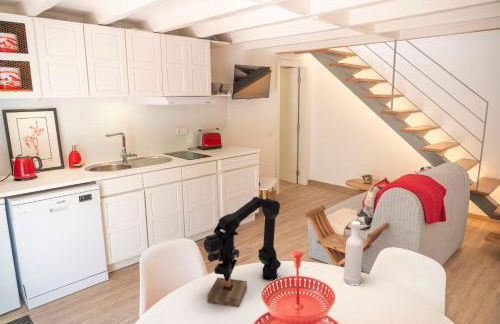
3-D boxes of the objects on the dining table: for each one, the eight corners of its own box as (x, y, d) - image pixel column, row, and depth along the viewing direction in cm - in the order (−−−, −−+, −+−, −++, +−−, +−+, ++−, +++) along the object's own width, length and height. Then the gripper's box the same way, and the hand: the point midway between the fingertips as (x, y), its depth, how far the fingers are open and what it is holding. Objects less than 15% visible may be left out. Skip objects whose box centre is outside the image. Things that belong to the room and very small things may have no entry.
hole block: (246, 288, 153) (246, 281, 152) (239, 307, 139) (239, 298, 139) (217, 285, 156) (217, 277, 155) (207, 302, 142) (207, 294, 142)
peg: (231, 283, 148) (231, 263, 146) (230, 287, 145) (229, 266, 143) (225, 282, 148) (225, 262, 147) (223, 286, 146) (223, 265, 144)
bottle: (341, 282, 159) (345, 223, 153) (346, 275, 165) (349, 218, 160) (358, 287, 154) (362, 226, 149) (362, 279, 161) (366, 221, 155)
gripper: (216, 235, 154) (217, 266, 157) (202, 253, 136) (203, 288, 139) (239, 237, 151) (239, 269, 154) (228, 256, 134) (228, 291, 137)
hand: (227, 278), depth 146 cm, fingers closed on peg, 3 cm apart
